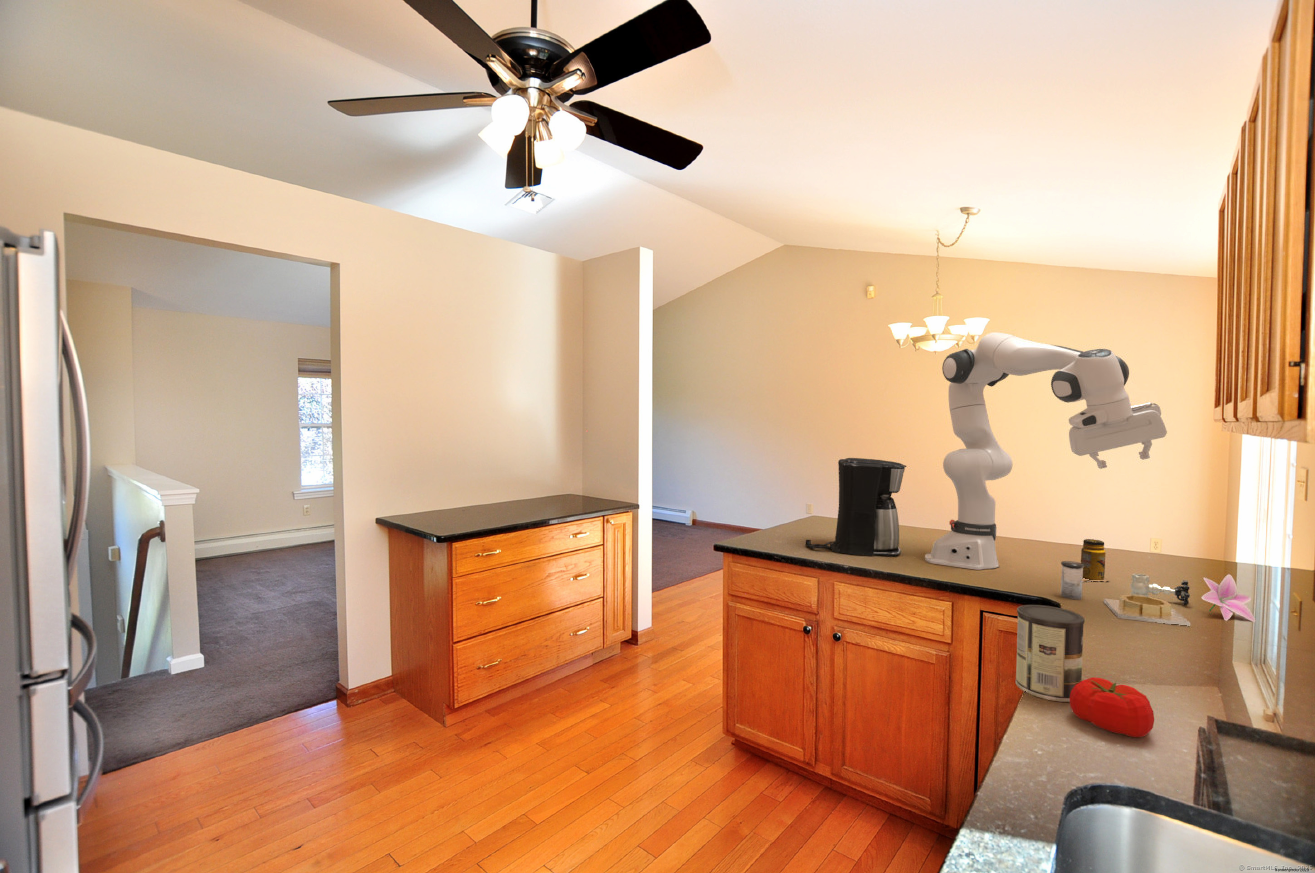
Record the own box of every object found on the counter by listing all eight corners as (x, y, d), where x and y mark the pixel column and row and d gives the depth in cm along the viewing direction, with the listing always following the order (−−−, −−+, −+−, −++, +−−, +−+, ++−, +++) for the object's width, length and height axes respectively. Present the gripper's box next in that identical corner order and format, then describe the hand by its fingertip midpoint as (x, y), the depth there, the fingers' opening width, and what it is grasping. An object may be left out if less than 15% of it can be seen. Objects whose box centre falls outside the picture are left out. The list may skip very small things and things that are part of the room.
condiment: (1111, 582, 183) (1112, 543, 182) (1082, 581, 183) (1083, 542, 183) (1095, 576, 190) (1097, 538, 190) (1067, 575, 191) (1068, 537, 190)
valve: (1131, 600, 165) (1189, 608, 159) (1132, 576, 165) (1190, 583, 158) (1128, 594, 171) (1184, 602, 164) (1129, 571, 170) (1185, 578, 164)
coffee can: (1064, 679, 115) (1067, 605, 114) (1093, 705, 104) (1096, 624, 104) (1005, 674, 116) (1008, 602, 116) (1028, 699, 106) (1031, 620, 106)
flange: (1118, 617, 150) (1118, 604, 150) (1103, 602, 163) (1104, 589, 163) (1190, 626, 144) (1190, 612, 144) (1169, 609, 157) (1169, 596, 157)
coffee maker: (915, 556, 214) (917, 461, 212) (830, 560, 207) (833, 462, 206) (878, 542, 236) (881, 456, 235) (801, 545, 229) (803, 457, 228)
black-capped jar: (1061, 598, 166) (1063, 564, 166) (1058, 593, 171) (1059, 560, 171) (1084, 600, 164) (1085, 566, 164) (1080, 595, 169) (1081, 562, 168)
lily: (1189, 619, 153) (1211, 592, 148) (1180, 590, 162) (1201, 564, 157) (1247, 640, 149) (1272, 613, 144) (1234, 610, 158) (1257, 583, 153)
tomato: (1079, 704, 105) (1080, 667, 105) (1160, 729, 97) (1161, 689, 96) (1061, 722, 98) (1062, 683, 98) (1146, 751, 90) (1148, 708, 90)
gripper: (1151, 399, 154) (1165, 450, 155) (1061, 420, 160) (1074, 470, 161) (1164, 401, 148) (1178, 455, 149) (1070, 423, 154) (1084, 475, 155)
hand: (1123, 463), depth 155 cm, fingers open, 8 cm apart
